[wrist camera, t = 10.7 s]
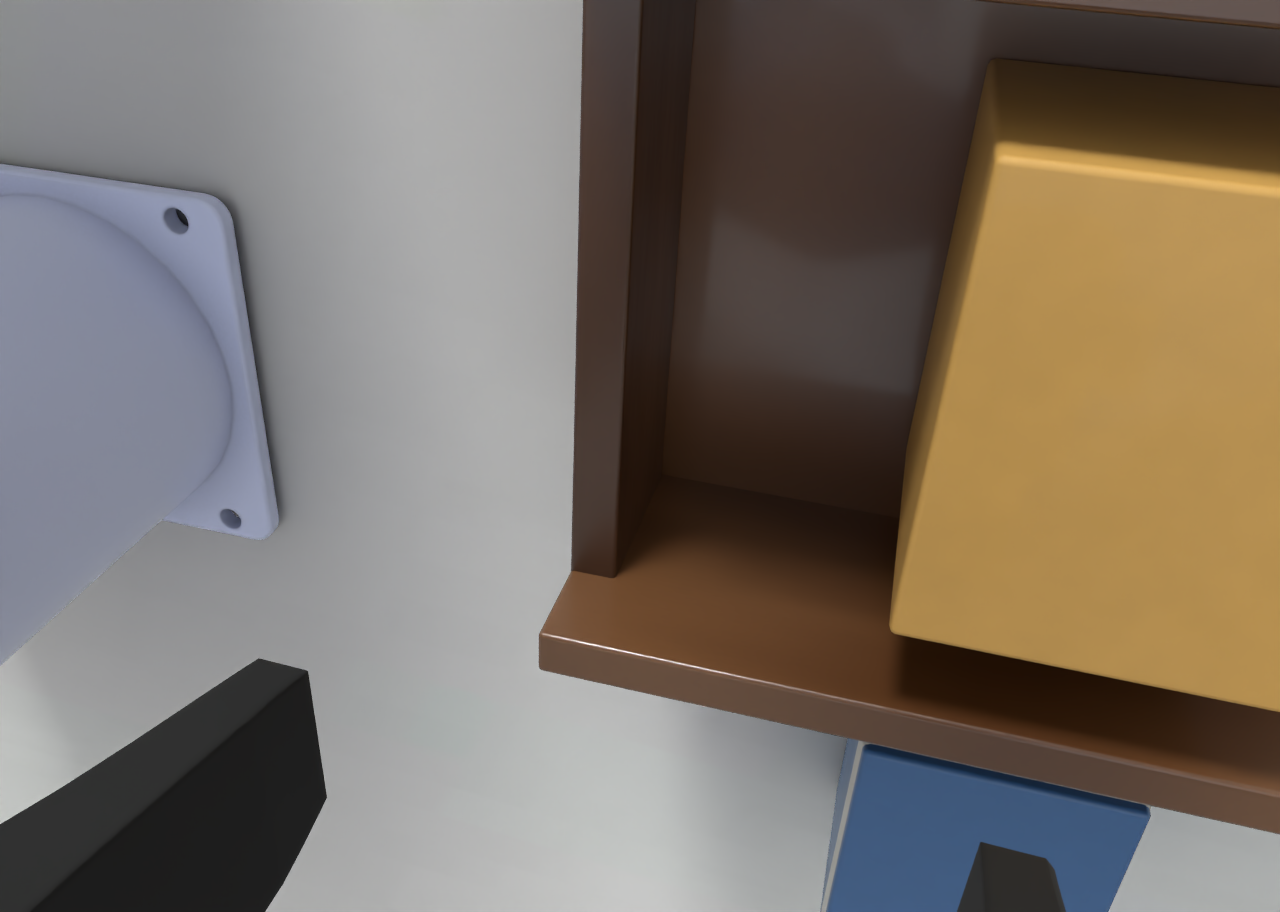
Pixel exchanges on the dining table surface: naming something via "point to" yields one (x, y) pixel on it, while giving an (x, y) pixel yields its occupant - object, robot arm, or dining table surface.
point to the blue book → (964, 832)
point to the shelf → (828, 377)
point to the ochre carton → (1106, 387)
